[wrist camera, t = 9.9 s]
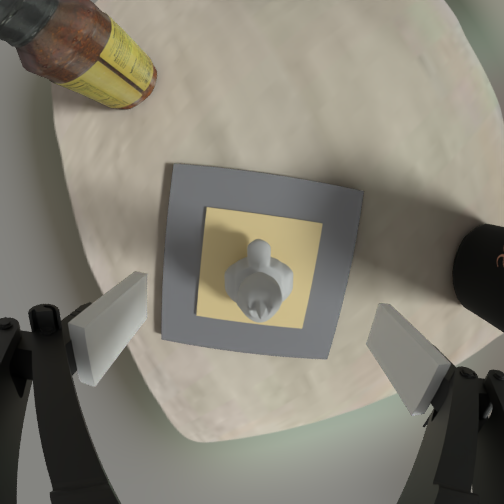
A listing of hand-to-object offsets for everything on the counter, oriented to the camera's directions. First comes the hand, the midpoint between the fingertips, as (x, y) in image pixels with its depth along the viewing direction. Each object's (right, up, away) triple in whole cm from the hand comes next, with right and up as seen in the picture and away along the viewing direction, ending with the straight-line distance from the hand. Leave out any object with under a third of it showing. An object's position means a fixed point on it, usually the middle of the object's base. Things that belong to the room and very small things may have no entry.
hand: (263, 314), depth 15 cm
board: (0, +2, +11) cm, 11 cm away
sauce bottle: (-13, +20, +8) cm, 25 cm away
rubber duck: (0, +2, +10) cm, 10 cm away
